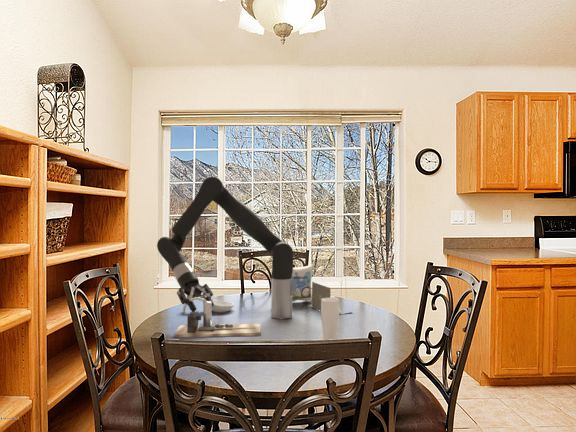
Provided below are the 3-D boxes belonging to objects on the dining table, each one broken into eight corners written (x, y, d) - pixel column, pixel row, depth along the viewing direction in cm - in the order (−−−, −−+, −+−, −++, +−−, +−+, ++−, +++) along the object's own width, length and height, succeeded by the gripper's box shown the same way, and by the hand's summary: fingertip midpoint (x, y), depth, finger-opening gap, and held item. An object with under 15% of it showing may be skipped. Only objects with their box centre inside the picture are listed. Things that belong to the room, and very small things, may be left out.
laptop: (353, 314, 183) (353, 286, 183) (329, 316, 178) (329, 288, 178) (333, 305, 199) (333, 280, 199) (311, 308, 194) (311, 281, 194)
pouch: (276, 303, 203) (277, 264, 203) (309, 300, 210) (309, 262, 210) (282, 306, 195) (283, 266, 195) (316, 303, 203) (317, 264, 203)
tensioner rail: (259, 326, 160) (260, 309, 160) (260, 335, 148) (260, 316, 148) (179, 328, 157) (180, 310, 157) (174, 337, 145) (174, 318, 145)
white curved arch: (232, 308, 193) (233, 293, 193) (234, 314, 181) (235, 298, 181) (183, 310, 188) (183, 295, 187) (181, 316, 176) (182, 300, 176)
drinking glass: (327, 336, 147) (327, 296, 147) (342, 340, 143) (343, 299, 143) (317, 340, 142) (317, 299, 142) (332, 345, 138) (333, 302, 138)
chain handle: (233, 325, 156) (233, 300, 156) (233, 329, 151) (233, 302, 151) (200, 326, 155) (200, 300, 154) (198, 330, 150) (198, 303, 150)
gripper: (174, 272, 153) (193, 306, 146) (203, 268, 165) (222, 299, 158) (166, 284, 157) (184, 318, 150) (195, 280, 168) (213, 311, 161)
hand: (203, 308), depth 154 cm, fingers open, 8 cm apart
